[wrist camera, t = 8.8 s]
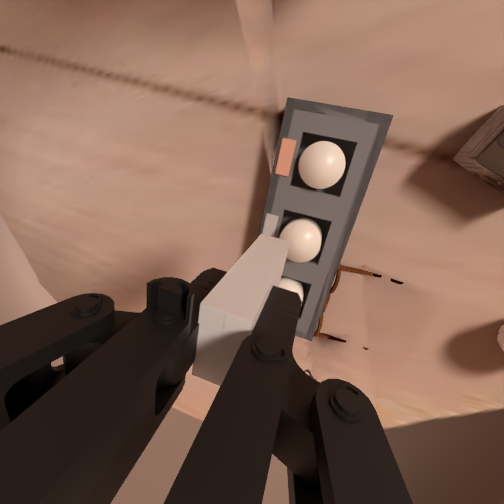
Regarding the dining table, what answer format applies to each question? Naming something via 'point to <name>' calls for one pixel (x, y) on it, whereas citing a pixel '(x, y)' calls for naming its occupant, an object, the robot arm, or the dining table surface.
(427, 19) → the dining table surface
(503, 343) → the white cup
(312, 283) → the console
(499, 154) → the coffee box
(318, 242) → the button middle
